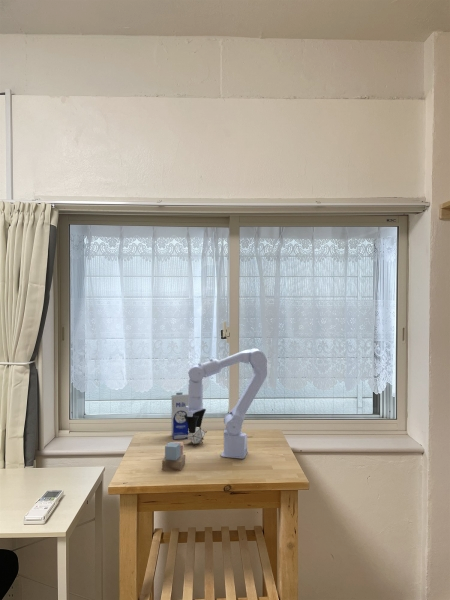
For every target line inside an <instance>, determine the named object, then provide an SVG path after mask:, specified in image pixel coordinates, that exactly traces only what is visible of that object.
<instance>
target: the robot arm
mask: <svg viewBox="0 0 450 600" xmlns="http://www.w3.org/2000/svg"><path fill="white" fill-rule="evenodd" d="M238 363H244V364H247V365H249V364H250V365H251V368H252V372H253V374H252V376H251V378H250V379H249V381H248V383H247V385H246V386H245V388H244V390H243V392H242V393H241V395H240V397H239V399H238V401H237V402H236V403H235V406H234V407H232V408H231V410H230V412H229V413H227V414H225V416H224V417H223V424H224V426H225V429H224V430H223V451H222V453H221V454H220V457H222V458H231V459H232V458H233V459H241V460H242V459H243V460H244V459H245V458H246V455H247V454H248V434H247V433H245V432H242V428H243V426H242V425H243V423H244V421H245V416H246V413H247V412H248V410H249V408H250V406H251V405H252V403H253V402H254V399H255V398H256V397H257V394H258V393H259V390H260V389H261V388H262V386H263V385H264V384H263V383H264V382H265V381H266V378H267V376H268V366H267V365H268V359H267V357H266V355H265V353H264V352H263V351H261V350H260V349H259V348H257V347H252V348H250V349H245V350H241V351H238V352H237V353H234V354H232V355H229V356H226V357H224V358H222V359H217V358H212V357H211V358H209V360H208V361H205V362H202V363H201V362H200V363H198V365H197V364H196V365H192V366H191V367H190V368H189V369H188V372H187V373H188V387H187V388H188V393H187V394H188V406H186V407H185V408H186V409H188V411H187V414H185V415H184V418H185V420H186V422H187V424H188V433H195V430H196V427H201V428H202V423H203V419H204V415H205V413H206V410H207V409H206V408H204V403H203V395H204V394H203V393H204V392H203V390H204V385H203V378H208V377H210V376H214V375H216V374H219V373H220V372H221V371H222V370H223V368H227V367H230V366H233V365H236V364H238Z"/></svg>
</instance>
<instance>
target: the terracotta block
mask: <svg viewBox="0 0 450 600" xmlns="http://www.w3.org/2000/svg"><path fill="white" fill-rule="evenodd" d="M172 442H173V443H181V455H185V452H184V450H185V448H184V447H185V446H184V443H185V442H184V441H172Z"/></svg>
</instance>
